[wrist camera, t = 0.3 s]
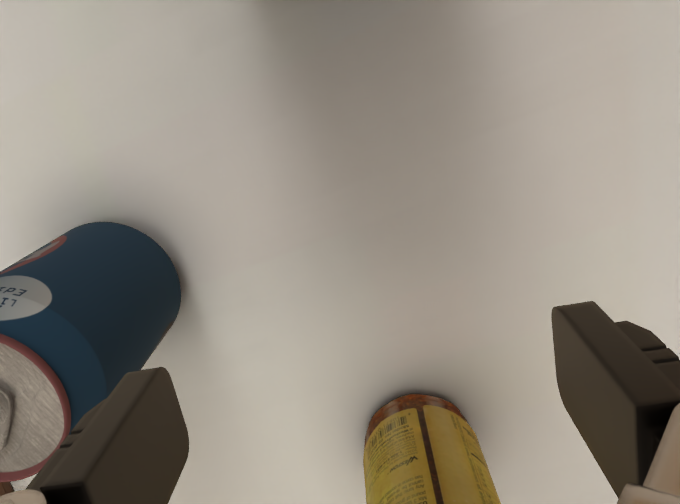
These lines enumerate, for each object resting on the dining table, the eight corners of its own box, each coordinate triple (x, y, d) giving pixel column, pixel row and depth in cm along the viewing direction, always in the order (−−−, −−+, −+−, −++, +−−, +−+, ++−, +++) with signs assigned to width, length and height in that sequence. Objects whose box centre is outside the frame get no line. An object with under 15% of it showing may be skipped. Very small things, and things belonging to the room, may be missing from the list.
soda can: (70, 196, 29) (-119, 284, 17) (203, 241, 29) (104, 355, 18) (45, 314, 31) (-137, 462, 20) (170, 355, 32) (63, 521, 20)
